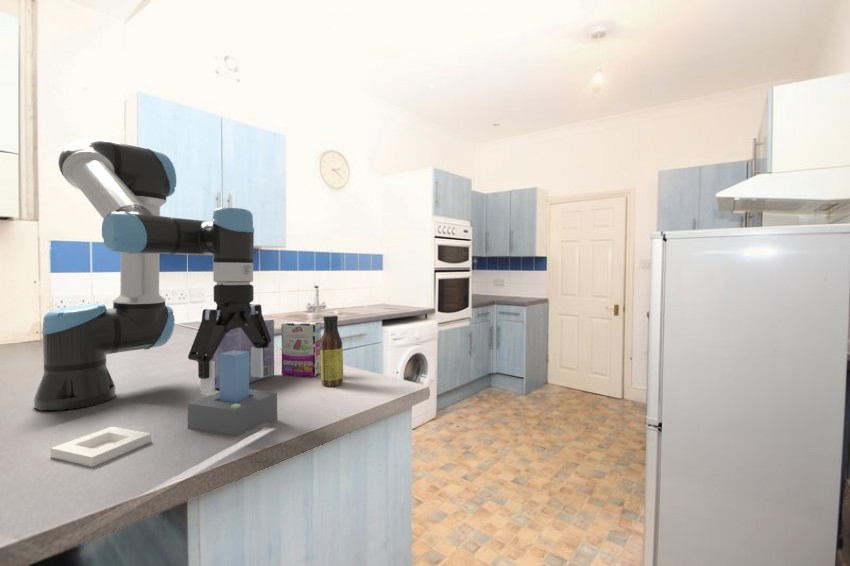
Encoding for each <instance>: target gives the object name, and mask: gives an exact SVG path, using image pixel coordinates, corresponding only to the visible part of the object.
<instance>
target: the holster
mask: <svg viewBox="0 0 850 566" xmlns="http://www.w3.org/2000/svg"><path fill="white" fill-rule="evenodd" d="M151 442H152V433H149V432H145V431H138V430H134V429H130V428H129V429H127V428H123V427H117V426H110V427H107V428H103V429H101V430H97V431H96V432H93V433H90V434H87V435H84V436H82V437H78V438H75V439H73V440H70V441H67V442H64V443H60V444H58V445H56V446H53V447H51V448H50V458H52V459H56V460H61V461H66V462H70V463H75V464H78V465H79V464H80V465H82V466H88V467H95V466H97V465H101V464H103V463H105V462H106V461H109V460H111V459H113V458H117V457H119V456H121V455H123V454H125V453H128V452H130V451H132V450H135V449H138V448H140V447H141V446H144V445H147V444H149V443H151Z"/></svg>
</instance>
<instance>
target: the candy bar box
mask: <svg viewBox="0 0 850 566" xmlns="http://www.w3.org/2000/svg"><path fill="white" fill-rule="evenodd" d="M321 325H322V323H321V322H319V321H317V322H315V321H286V322H281V375H282V376H287V375H289V376H291V377H307V376H310V378H311V377H312V378H315V377H317V376H318V374H319V375H321V353H320V349H321V337H322V333H321V332H322V331H321V330H322V328H321ZM289 376H288V377H289Z"/></svg>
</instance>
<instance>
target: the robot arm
mask: <svg viewBox="0 0 850 566" xmlns="http://www.w3.org/2000/svg"><path fill="white" fill-rule="evenodd" d="M58 167H59V168H58V169H59V171H60V173H61V175H62V176H63V178H64V179H65V180H66V181H67V183H68V184H70V185H71V186H72V187H74V188H76V189H78V190H80V191H81V192H82V193H83V195H84V196H85V198H87V200H88V202H90V204H91V205H92V207H93V208H94V209H95V210H96V211H97V213H99V215H100V217H101V218H102V219H103V220H102V224H101V237H102V239H103V244H104V246H105V247H106V248H107V250H108V251H109V250H110V251H112V252H117V253H120V294H119V295H118V296H117V297H116V298H115V299H114V300H113V301H112V308H107V306H106V305H105V304H103V303H91V304H89V303H88V304H81V305H80V304H79V305H73V306H67V307H62V308H57V309H54V310H51V311H49V312H47V313H46V314H45V315H44V316H43V322H42V330H41V334H42V344H43V345H42V348H43V350H42V351H43V374H42V377H41V380H40V383H39V385H38V388H37V391H36V393H35V396H34V398H33V404H34V405H33V406H34V407H35V408H36V409H35V408H34V409H35V410H37V409H38V411H43V410H57V411H66V410H65V409H68V410H74V408H75V409H80V407H81V408H85V406H86V407H90V405H91V406H94V404H95V405H97V404H98V405H99V404H101V402H102V403H104V401H105V402H108V401H109V400H111V399H113V398H115V396H116V385H115V382H114V381H113V378H112V376H111V373H110V372H109V369H108V367H107V355H110V354H117V353H123V352H125V353H126V352H130V351H131V352H132V351H139V350H140V351H141V350H145V351H146V350H150V349H153V348H157V347H158V348H159V347H162V346H164V345H165V344H167V343H168V342H169V340H171V337H172V335H173V332H174V329H175V315H174V310H173V308H172V307H171V306H169V305H167V304H166V299H165V298H164V297H163V296H161V295H160V255H162V254H163V255H184V256H186V255H188V256H198V257H208V256H213V261H212V262H213V272H212V273H213V282H214V283H216V284H215V285H214V286H213V302H214V303H215V304H216V308H215V309H209V308H205V309H203V310H202V315H201V322H200V324H199V327H198V330H197V332H196V335H195V337H194V340H193V343H192V345H191V348H190V350H189V353H188V356H187V358H188V360H190V361H195V362H197V365H198V366H197V367H198V368H197V369H198V375H197V376H198V378H199V379H200V394H201V395H207V396H210V395H215V393H216V388H215V361H211V359H212V357H213V355H214V354H215V352H216V350H217V349H218V347H219V345H220V343H221V342H222V340H223V338H224V336H225V335H226V333H228V332H229V331H230V330H231V329H236V328H242V330H243V331H244V333H245V334H246V335H247V337H248V338H249V340H250V341H251V342H252V344H253V345H254V346H255V347H252V348H251V377H260V378H261V377H263V361H264V347H266V348H267V347H268V346H269V343H270V342H271V338H270V335H269V332H268V329H267V327H266V324H265V321H264V320H265V319H264V316H263V312H262V311H263V310H262V305H261V304H257V303H252V302H254V300H255V299H254V296H255V295H254V289H255V288H254V287H255V286H253V284H251V283H252V282H254V242H255V241H254V233H255V228H254V219H253V218H254V217H253V216H254V215H253V213H252V212H251V211H250V210H248V209H245V208H238V207H226V206H225V207H217V208H215V209H214V210H213V213H212V218H211V220H201V219H200V220H199V219H190V218H182V217H181V218H179V217H171V216H162V215H161V211H160V209H161V207H162V206H163V205H165V204H166V203H167V198H169V197H170V196H172V195H173V194H174V192H175V190H176V189H175V188H176V187H177V174H176V173H177V172H176V168H175V166H174V163H173V162H172V161H171V159H170V158H169V157H168V155H166V154H164V153H163V152H159V151H156V150H152V149H150V148H145V147H139V146H136V145H135V146H134V145H130V144H126V143H125V144H124V143H120V142H116V141H111V140H108V139H104V138H93V137H91V138H82V139H78V140H76V141H74V142H71V143H70V144H68V145H66V146H65V148H63V149H62V150H61V153H60V155H59V157H58ZM221 325H222V326H221ZM263 336H264V337H265V338H264V337H263Z"/></svg>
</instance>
